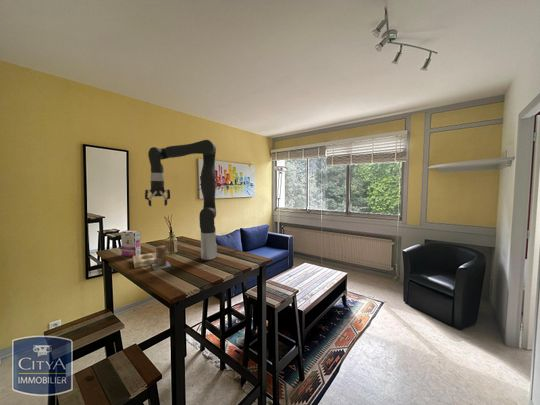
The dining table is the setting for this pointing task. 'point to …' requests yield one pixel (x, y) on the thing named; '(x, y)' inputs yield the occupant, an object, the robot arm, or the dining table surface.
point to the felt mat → (161, 266)
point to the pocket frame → (144, 260)
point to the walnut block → (161, 255)
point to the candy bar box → (130, 243)
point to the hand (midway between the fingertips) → (158, 205)
